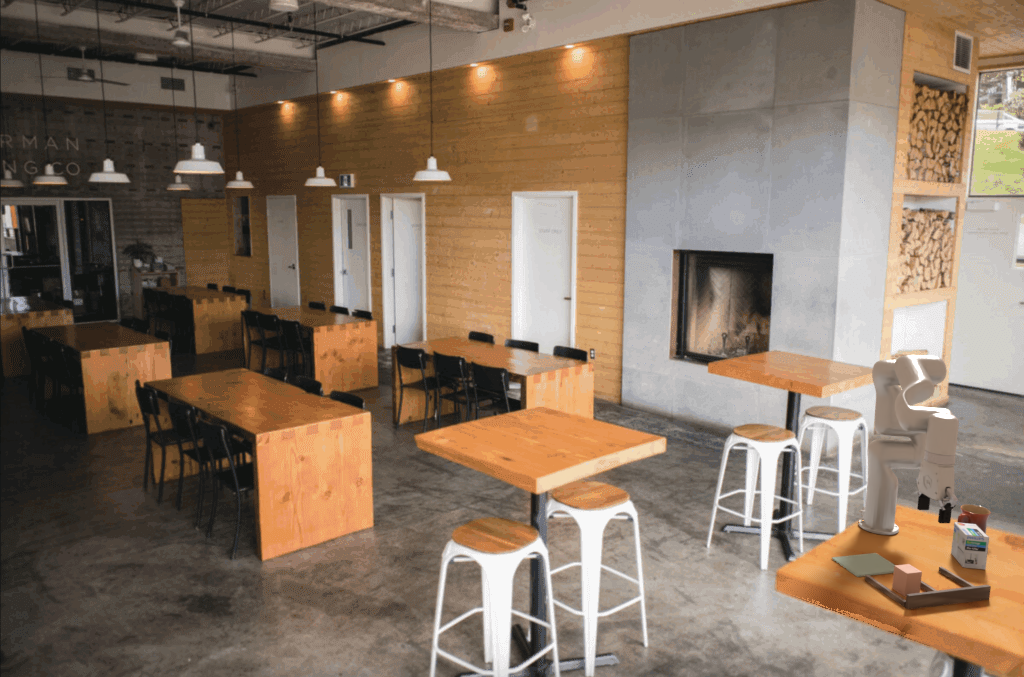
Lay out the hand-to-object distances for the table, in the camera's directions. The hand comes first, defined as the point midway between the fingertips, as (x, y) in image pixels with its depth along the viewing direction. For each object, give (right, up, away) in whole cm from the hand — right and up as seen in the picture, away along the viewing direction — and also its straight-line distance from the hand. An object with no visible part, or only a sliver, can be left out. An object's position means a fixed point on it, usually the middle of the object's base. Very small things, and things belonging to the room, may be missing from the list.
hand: (933, 516), depth 214 cm
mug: (+34, -17, +40) cm, 56 cm away
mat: (-10, -20, +20) cm, 30 cm away
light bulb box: (+24, -20, +24) cm, 39 cm away
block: (-6, -23, +4) cm, 24 cm away
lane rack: (0, -22, +6) cm, 23 cm away
